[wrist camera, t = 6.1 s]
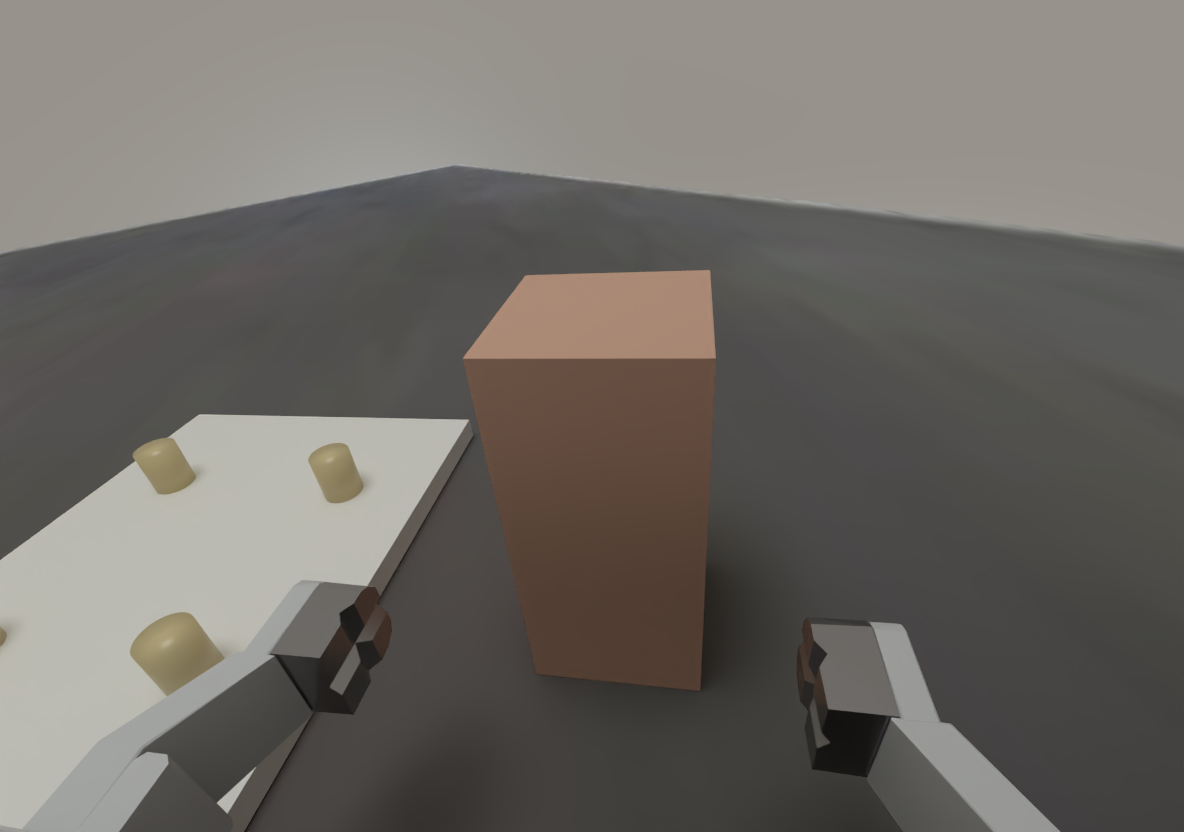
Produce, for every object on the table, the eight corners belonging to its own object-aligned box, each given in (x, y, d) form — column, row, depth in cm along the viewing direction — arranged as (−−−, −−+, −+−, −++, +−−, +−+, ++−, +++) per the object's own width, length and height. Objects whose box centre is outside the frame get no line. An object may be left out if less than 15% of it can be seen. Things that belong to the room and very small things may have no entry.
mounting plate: (472, 435, 28) (460, 385, 27) (167, 963, 12) (88, 917, 10) (207, 429, 31) (182, 383, 30) (-335, 849, 15) (-461, 799, 13)
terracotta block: (699, 561, 20) (709, 270, 14) (700, 690, 16) (715, 358, 10) (567, 553, 21) (525, 275, 15) (536, 673, 17) (462, 358, 11)
